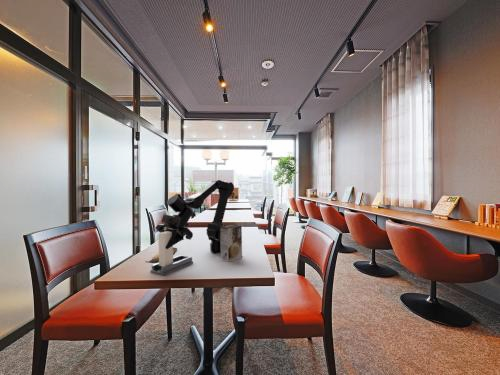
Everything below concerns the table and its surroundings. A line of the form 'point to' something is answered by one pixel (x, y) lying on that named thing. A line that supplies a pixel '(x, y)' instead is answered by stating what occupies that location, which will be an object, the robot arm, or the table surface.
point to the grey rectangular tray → (172, 265)
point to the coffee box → (231, 242)
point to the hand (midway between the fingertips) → (163, 248)
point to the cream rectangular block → (164, 253)
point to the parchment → (156, 256)
